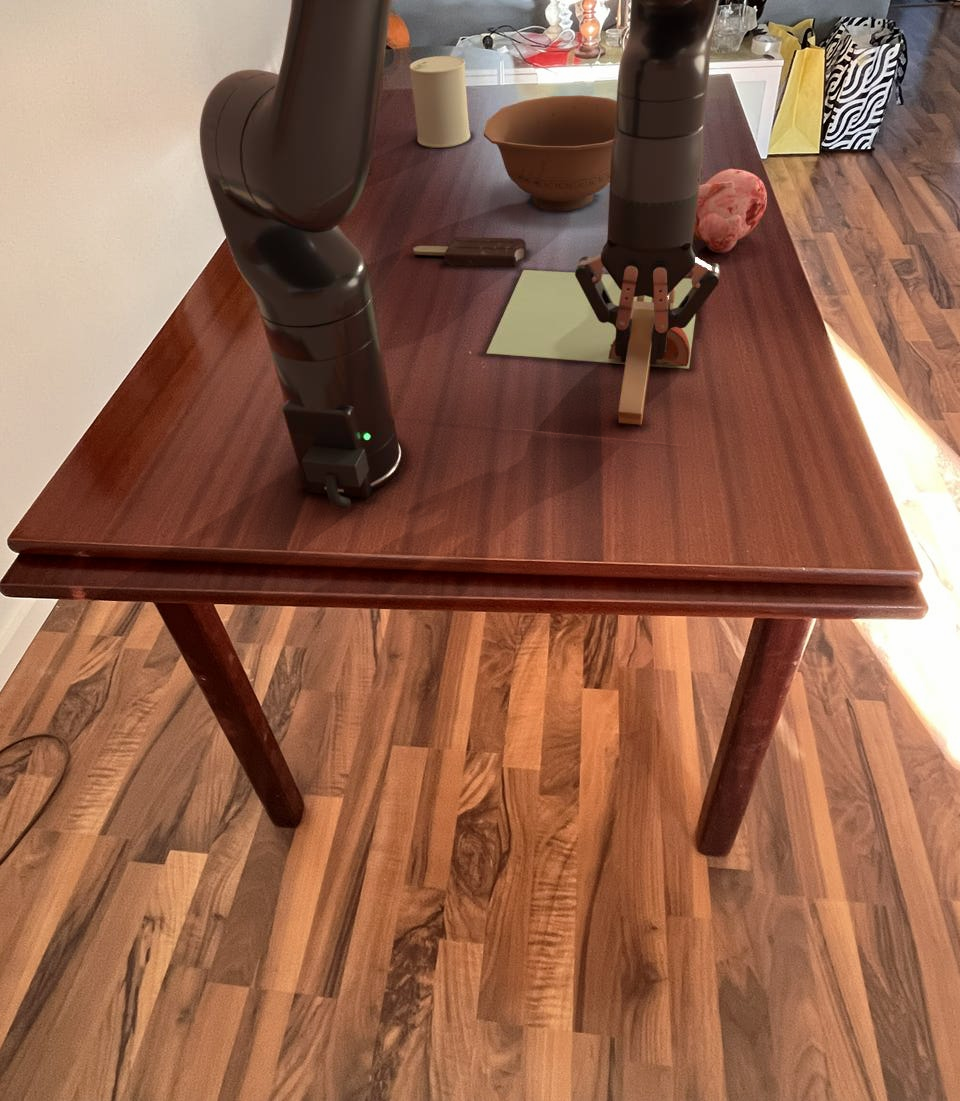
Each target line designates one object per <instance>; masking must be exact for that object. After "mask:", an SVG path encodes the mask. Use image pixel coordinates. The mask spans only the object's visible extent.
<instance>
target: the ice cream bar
mask: <svg viewBox="0 0 960 1101" xmlns="http://www.w3.org/2000/svg"><path fill="white" fill-rule="evenodd" d="M413 254H414V255H416V256H417V255H418V256H443V259H444V264H445V266H458V267H459V266H460V267H462V266H464V267H494V268H495V267H496V268H515V267H516V266H517V261H519V260H521V259H522V260H524V259H526V256H527V242H526V241H525V240H524V239H523V238H519V237H517V238H515V237H478V236H477V237H476V236H454V237H453V238H452V239H451V241H450V244H449V246H443V245H441V246H440V245H417V246H415V247H413Z"/></svg>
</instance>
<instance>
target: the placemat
mask: <svg viewBox="0 0 960 1101" xmlns="http://www.w3.org/2000/svg"><path fill="white" fill-rule="evenodd" d="M601 280H602V282H603V284H604V286H605V288H606V290H607V292H608V294H609V296H610V298H611V300H612V302H613V304H614V305H617V306H619V301H620V295H621V290H620V289H619V287H618V286H617V284H616V283H615V281H614V280H613V279H612V277H611V276H610V274H609V273H607V274H606V273H603V275H602V278H601ZM692 287H693V285H692V278H688V277H687V278H686V277H684V278H683V279H682V280H681V281H680V282H679V284H678V285H677V286H676V291H675V299H674V306H673V309H674V308H678V306H679V305H680V303H681V302H682V301H683V299H684V298H685V296H686V295H687V294H688V292H689V291H690V290H691V288H692ZM634 301H637V297H634ZM644 302H652V298H651V297H648V296H645V295H644ZM696 314H697V313H696ZM696 314H695V315H694V317H693V318H692V319H691V321H690V322H689V323H688V325H687V326H686V327H684V328H681V329H682V330H683V331H684V332H685V334H686V336H687V338H688V341H689V347H690V356H689V362H688V365H687V366H673V365H669V364H660V363H657V364H656V365H651V364H650V367H658V368H670V369H671V368H672V369H685V370H689V369H690V362H691V355H692V347H693V340H694V338H693V337H694V330H695V324H696V323H695V322H696V316H697V315H696ZM615 338H616V328H615V326H614V325H613V324H611V323H609V322H606V323H602V322H600V321H599V320H598V318H597V317H596V315H595V313H594V311H593V309H592V307H591V305H590V303H589V301H588V299H587V297H586V296H585V294H584V292H583V290H582V288H581V286H580V284H579V282H578V280H577V278H576V276H575V272H572V271H571V272H570V271H569V272H568V271H554V270H553V271H549V270H531V269H523V270H522V272H521V275H520V277H519V279H518V282H517V283H516V286H515V287H514V290H513V292H512V294H511V297H510V299H509V301H508V302H507V306H506V307H505V309H504V313H503V315H502V317H501V319H500V321H499V324H498V326H497V327H496V330H495V333H494V334H493V336H492V339H491V342H490V344H489V346H488V348H487V351H486V354H487V355H488V354H489V355H498V356H499V355H501V356H513V357H514V356H515V357H528V358H541V359H553V360H566V361H581V362H591V363H592V362H593V363H605V364H620V365H625V363H626V362H621V360H616V359H608V358H609V352H610V349H611V346H610V344H613V341H614V340H615Z"/></svg>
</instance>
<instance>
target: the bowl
mask: <svg viewBox="0 0 960 1101" xmlns="http://www.w3.org/2000/svg"><path fill="white" fill-rule="evenodd" d="M616 104H617V100H615V99H612V98H610V97H601V96H592V95H581V94H580V95H552V96H546V97H540V98H533V99H527V100H523V101H520V102H517V103H513V104H510V105H507V106H504V107H501V108H500V109H499V110H498V111H497V112H496V113H494V114H492V116H491V117H490V118H488V119H487V120H486V124H485V127H484V131H483V137H484V138H485V139H487V140H488V141H489V142H490V143H491V144H494V145H496V146H497V148H498V150H499V152H500V155H501V160H502V163H503V165H504V168H505V171H506V173H507V175H508V177H509V178H510V181H512V182H513V183H514V184H515V185H516V186H517V187H518V188H519V189H520V190H521V191H523V192H524V193H526V194H528V195H531V196H532V197H531V202H532V203H533V204H534V205H535V206H536V207H538V208H540V209H543V210H547V211H553V212H569V211H575V210H579V209H581V208H584V207H586V206H588V205H589V204H590V203H591V202H592V201H593V200H594V194H596V193H598V192H600V191H602V190H604V188H605V187H607V186H608V185H609V184H610V168H611V153H612V146H613V141H614V135H615V126H616Z"/></svg>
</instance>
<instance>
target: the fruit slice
mask: <svg viewBox="0 0 960 1101" xmlns="http://www.w3.org/2000/svg"><path fill="white" fill-rule="evenodd" d="M615 339H616V338H615ZM610 346H611V349H610V352H609V358H608V359H616V360H621V357H619V356H616V354H615V340H614V341H613V344H610ZM689 356H690V357H691V355H690V347H689V341H688V338H687V336H686V334H685V332H684V331H683V330H682V329H681V328H678V327H673V328H671V329H669V330H668V333H667V342H666V350H665V356H664V357H663V359H662V360H659V359H657V363H660V364H669V365H673V366H687V365H688V362H689Z"/></svg>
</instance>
